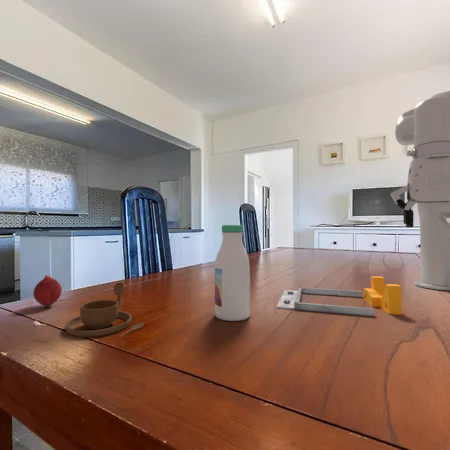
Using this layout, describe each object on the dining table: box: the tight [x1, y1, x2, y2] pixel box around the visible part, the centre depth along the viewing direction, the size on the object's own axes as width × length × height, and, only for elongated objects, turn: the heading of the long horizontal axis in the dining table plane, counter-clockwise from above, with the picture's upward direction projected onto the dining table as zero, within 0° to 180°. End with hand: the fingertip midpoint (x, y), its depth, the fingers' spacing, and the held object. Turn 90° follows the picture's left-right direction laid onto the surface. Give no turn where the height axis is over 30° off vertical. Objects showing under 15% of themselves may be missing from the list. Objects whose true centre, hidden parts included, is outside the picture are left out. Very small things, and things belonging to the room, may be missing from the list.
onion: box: [32, 273, 62, 308], centre depth 69 cm, size 6×6×8 cm
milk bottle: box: [214, 224, 251, 322], centre depth 61 cm, size 8×8×20 cm
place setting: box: [65, 282, 145, 338], centre depth 59 cm, size 18×20×6 cm
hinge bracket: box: [276, 286, 375, 317], centre depth 73 cm, size 18×21×2 cm
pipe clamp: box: [363, 275, 402, 315], centre depth 68 cm, size 12×4×6 cm, turn 169°
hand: (433, 227), depth 65 cm, fingers open, 9 cm apart
